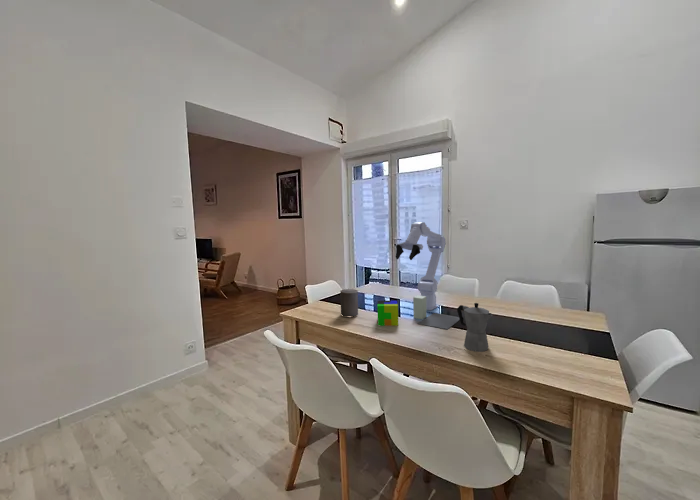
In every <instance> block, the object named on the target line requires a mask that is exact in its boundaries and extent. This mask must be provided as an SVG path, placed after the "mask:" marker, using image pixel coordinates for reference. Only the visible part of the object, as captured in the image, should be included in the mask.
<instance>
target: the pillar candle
mask: <svg viewBox="0 0 700 500" xmlns="http://www.w3.org/2000/svg"><path fill="white" fill-rule="evenodd" d="M358 296H359V290H357V289H356V288H355V289H354V288H344V289H341V290H340V315H341V314H342V315H343V316H356V315H358V316H359V297H358ZM356 317H357V316H356Z"/></svg>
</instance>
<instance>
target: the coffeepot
mask: <svg viewBox="0 0 700 500" xmlns="http://www.w3.org/2000/svg"><path fill="white" fill-rule="evenodd" d="M473 305H474V306H472V307H470V306H467V305H462V304H460V305H459V306H458V307H457V308H456V311H457V315H458V317H459V319H460V320H459V322H460V324H461V325H462V326H465V327H466V332H465V336H464V343H463V347H464V348H465V349H467V350H469V351H471V352H472V351H473V352H480V353H482V352H486V351H488V350H489V343H488V342H489V341H488V335H487V332H486V329H487V325H488V321H489V320H490V318H491V317H493V314H492V313H491V312H490V310H488V309H487V308H484V307H479V303H477V302H475V303H474V304H473ZM462 311H463V313H464V314H463V313H462ZM463 315H464V317H463ZM464 321H465V322H464Z"/></svg>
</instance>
